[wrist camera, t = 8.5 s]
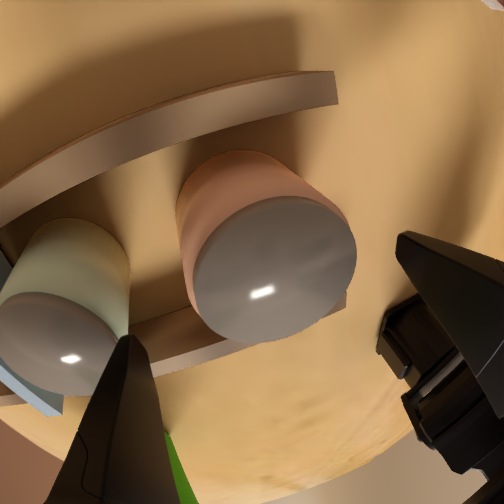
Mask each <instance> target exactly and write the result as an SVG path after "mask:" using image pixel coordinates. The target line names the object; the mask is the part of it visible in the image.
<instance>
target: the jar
mask: <svg viewBox="0 0 504 504" xmlns="http://www.w3.org/2000/svg"><path fill="white" fill-rule="evenodd" d="M176 223H177V230H178V237H179V244H180V251H181V258H182V264H183V271H184V277H185V283H186V288H187V293H188V297H189V299H190V302H191V304H192V306H193V307H194V309H195V311H196V312H197V313H198V314H199V315H200V316H201V318H202V319H203V321H204V322H205V323H206V324H207V325H208V326H209V328H211V329H212V330H213V331H214V332H216V333H217V334H219V335H221V336H223V337H225V338H228V339H230V340H234V341H238V342H245V343H264V342H270V341H276V340H279V339H283V338H286V337H289V336H292V335H294V334H296V333H298V332H301V331H302V330H304V329H306V328H308V327H310V326H311V325H313V324H314V323H316V322H317V321H318V320H320V319H321V318H322V317H324V316H325V315H326V314H327V313H328V312H329V311H330V310H331V309H332V308H333V307H334V306H335V305H336V304H337V302H338V301H339V300H340V299H341V297H342V296H343V294H344V293H345V291H346V290H347V288H348V286H349V284H350V282H351V279H352V277H353V274H354V270H355V266H356V259H357V249H356V243H355V239H354V236H353V234H352V232H351V230H350V227H349V224H348V222H347V220H346V218H345V216H344V215H343V213H342V212H341V211H340V209H339V208H338V207H337V206H336V205H335V204H333V203H332V202H331V201H330V200H329V199H327V198H326V197H325V196H323V195H322V194H321V193H320V192H318V191H317V190H316V189H315V188H313V187H312V186H311V185H309V184H308V183H307V182H305V181H304V180H303V179H302V178H300V177H299V176H298V175H296V174H295V173H294V172H292V171H291V170H290V169H288V168H287V167H285V166H284V165H283V164H281V163H280V162H279V161H277V160H276V159H274V158H273V157H271V156H269V155H267V154H264V153H261V152H258V151H252V150H234V151H229V152H225V153H222V154H219V155H217V156H214V157H212V158H211V159H209V160H207V161H206V162H204V163H203V164H201V165H200V166H199V167H198V168H197V169H196V170H194V171H193V173H192V174H191V175H190V176H189V177H188V179H187V180H186V182H185V183H184V185H183V187H182V189H181V191H180V193H179V196H178V200H177V205H176Z"/></svg>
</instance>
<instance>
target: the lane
mask: <svg viewBox="0 0 504 504" xmlns="http://www.w3.org/2000/svg"><path fill="white" fill-rule="evenodd" d="M336 104H338V97H337V89H336V82H335V76H334V71H293V72H286V73H280V74H274V75H268V76H262V77H257V78H252V79H247V80H242V81H238V82H233V83H229V84H225V85H221V86H217V87H213V88H209V89H205V90H201V91H198V92H194V93H191V94H188V95H184V96H181V97H178V98H175V99H172V100H169V101H166V102H163V103H160V104H157V105H154V106H151V107H149V108H146V109H143V110H141V111H138V112H135V113H133V114H130V115H128V116H125V117H123V118H120V119H118V120H116V121H113V122H111V123H109V124H106V125H104V126H102V127H100V128H98V129H95V130H93V131H91V132H89V133H87V134H85V135H83V136H81V137H79V138H77V139H75V140H73V141H71V142H69V143H67V144H65V145H63V146H62V147H60V148H58V149H56V150H54V151H52V152H51V153H49V154H47V155H45V156H44V157H42V158H40V159H39V160H37V161H35V162H34V163H32V164H30V165H29V166H27V167H26V168H24V169H23V170H21V171H19V172H18V173H16V174H15V175H13V176H12V177H10V178H9V179H7V180H6V181H5V182H3V183H2V184H0V228H1V227H2V226H4V225H6V224H7V223H9V222H10V221H12V220H14V219H15V218H17V217H18V216H20V215H22V214H23V213H25V212H27V211H29V210H30V209H32V208H34V207H35V206H37V205H39V204H41V203H43V202H44V201H46V200H48V199H50V198H52V197H54V196H56V195H57V194H59V193H61V192H63V191H65V190H67V189H69V188H71V187H73V186H75V185H77V184H79V183H81V182H83V181H86V180H88V179H90V178H92V177H94V176H96V175H98V174H101V173H103V172H105V171H107V170H110V169H112V168H114V167H117V166H119V165H121V164H124V163H126V162H129V161H131V160H134V159H136V158H139V157H141V156H144V155H146V154H149V153H152V152H154V151H157V150H160V149H162V148H165V147H168V146H171V145H174V144H177V143H180V142H182V141H185V140H189V139H192V138H195V137H198V136H201V135H204V134H208V133H211V132H214V131H218V130H221V129H225V128H228V127H232V126H235V125H239V124H243V123H247V122H251V121H255V120H259V119H263V118H267V117H272V116H276V115H281V114H286V113H290V112H295V111H301V110H306V109H311V108H317V107H323V106H329V105H336ZM346 293H347V292H346V291H345V293H344V294H343V296H342V297H341V299H340V300H339V301H338V302H337V304H336V305H335V306H334V307H333V308H332V309H331V310H330V311H329V312H328V313H327V314H326V315H325V316H324V317H326V316H328V315H331V314H333V313H335V312H337V311H340V310H342V309H344V308H346ZM324 317H322V318H324ZM322 318H321V319H322ZM130 333H133V334H134V335H135V336H136V337H137V338H138V340H139V341H140V342H141V343H142V345H143V346H144V347H145V349H146V351H147V353H148V357H149V361H150V366H151V370H152V374H153V378H154V377H157V376H161V375H164V374H168V373H171V372H175V371H178V370H182V369H185V368H188V367H191V366H195V365H198V364H201V363H204V362H207V361H210V360H213V359H217V358H220V357H222V356H225V355H228V354H231V353H234V352H237V351H240V350H243V349H246V348H248V347H251V346H254V345H257V344H259V343H245V342H238V341H234V340H230V339H228V338H225V337H223V336H221V335H219V334H217V333H216V332H214V331H213V330H212V329H211V328H209V326H208V325H207V324H206V323H205V322H204V321H203V319H202V318H201V316H200V315H199V314H198V313H197V312H196V311H195V309H194V307H193V306H190V307H187V308H184V309H181V310H178V311H175V312H173V313H170V314H167V315H164V316H161V317H158V318H155V319H152V320H149V321H145V322H142V323H139V324H136V325H133V326H130V327H128V334H130ZM65 397H71V396H67V395H64V398H65ZM26 403H28V402H26V401H25V400H24V399H22V398H21V397H20V396H18V395H17V394H16V393H15V392H13V391H12V390H11V389H10V388H9V387H7V386H6V385H5V384H4V383H3V382H1V381H0V406H9V405H18V404H26Z"/></svg>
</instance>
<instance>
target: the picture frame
mask: <svg viewBox="0 0 504 504" xmlns="http://www.w3.org/2000/svg"><path fill="white" fill-rule="evenodd" d="M481 1H482V2H483V3H485V4H486V5H487V6H488V7H489V8H490V9H492V10H500V11H504V0H481Z"/></svg>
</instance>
